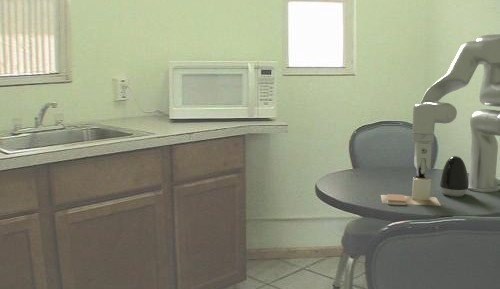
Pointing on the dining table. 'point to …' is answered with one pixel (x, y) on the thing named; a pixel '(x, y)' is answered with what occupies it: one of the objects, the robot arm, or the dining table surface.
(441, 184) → the black rounded dome
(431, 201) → the cork mat
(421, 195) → the tile
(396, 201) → the tile
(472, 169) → the robot arm
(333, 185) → the dining table surface
